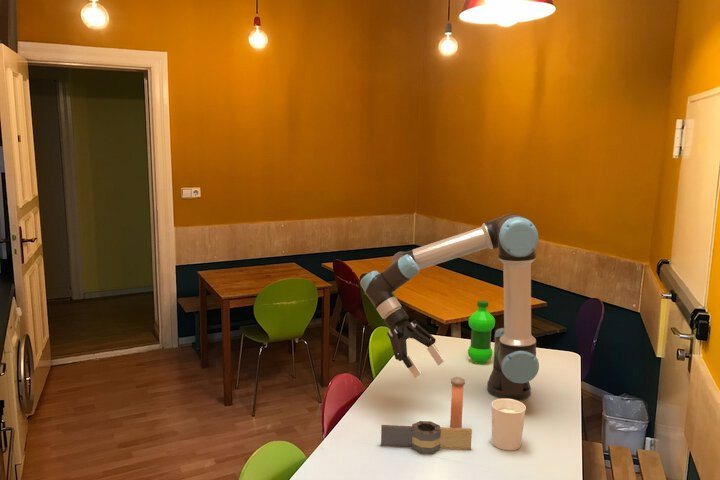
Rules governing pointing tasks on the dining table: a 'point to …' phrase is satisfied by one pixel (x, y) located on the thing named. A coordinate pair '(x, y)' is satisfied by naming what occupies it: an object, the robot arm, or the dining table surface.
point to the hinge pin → (456, 402)
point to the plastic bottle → (481, 334)
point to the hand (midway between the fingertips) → (430, 369)
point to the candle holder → (507, 423)
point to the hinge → (426, 437)
